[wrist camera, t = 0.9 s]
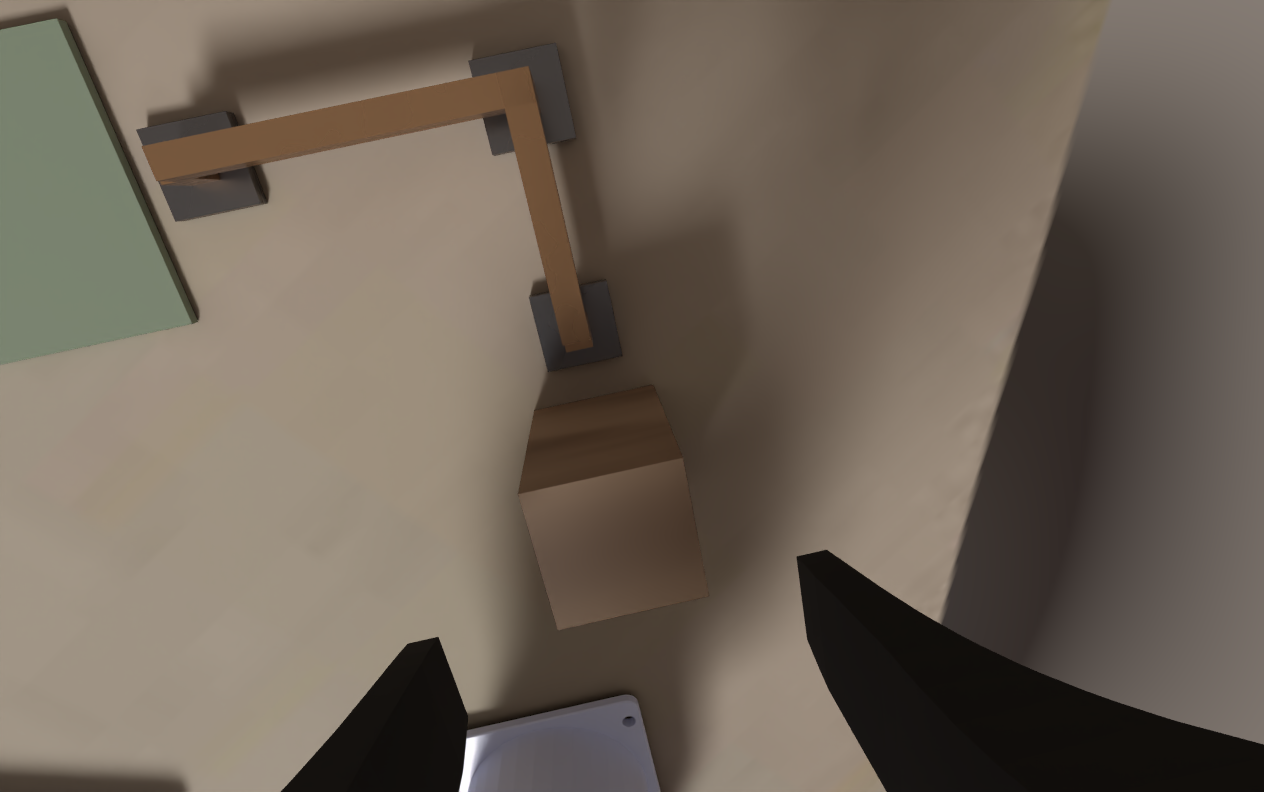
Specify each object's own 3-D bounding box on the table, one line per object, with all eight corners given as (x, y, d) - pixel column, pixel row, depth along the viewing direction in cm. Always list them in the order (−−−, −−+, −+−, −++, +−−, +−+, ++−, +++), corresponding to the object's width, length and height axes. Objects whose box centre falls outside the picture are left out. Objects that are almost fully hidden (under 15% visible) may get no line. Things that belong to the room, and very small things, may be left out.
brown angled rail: (621, 352, 20) (627, 374, 17) (272, 428, 20) (230, 460, 17) (556, 46, 17) (553, 22, 15) (146, 131, 17) (75, 120, 14)
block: (674, 490, 22) (708, 596, 16) (562, 515, 21) (557, 630, 16) (653, 384, 20) (682, 457, 15) (534, 410, 20) (518, 494, 14)
